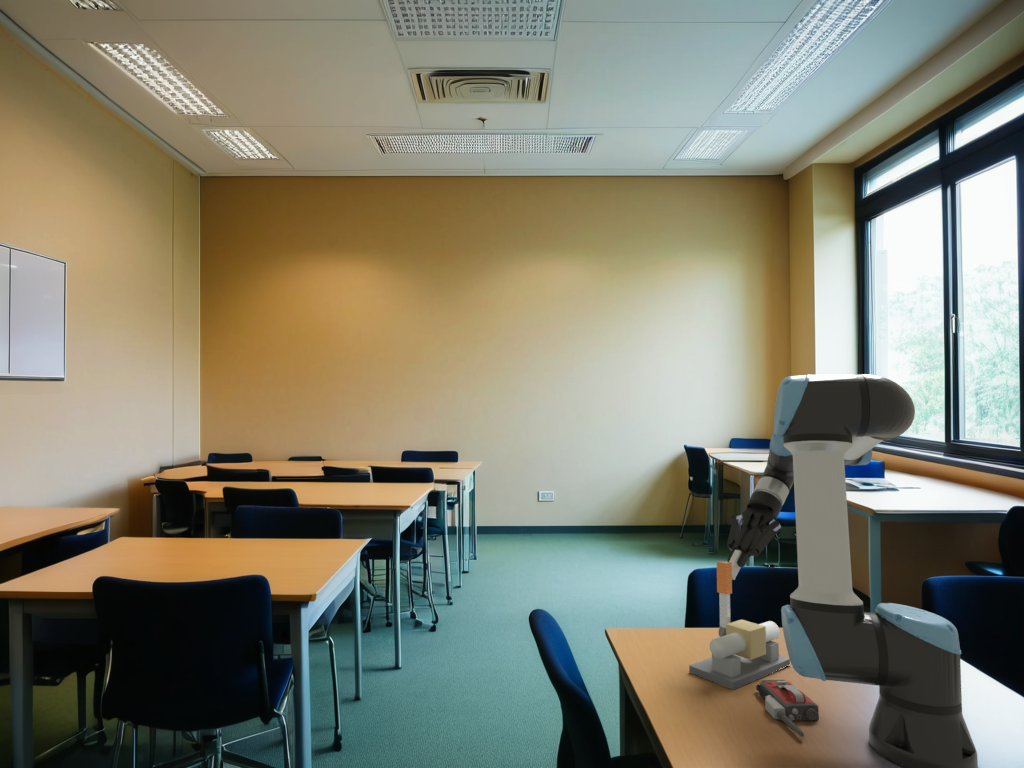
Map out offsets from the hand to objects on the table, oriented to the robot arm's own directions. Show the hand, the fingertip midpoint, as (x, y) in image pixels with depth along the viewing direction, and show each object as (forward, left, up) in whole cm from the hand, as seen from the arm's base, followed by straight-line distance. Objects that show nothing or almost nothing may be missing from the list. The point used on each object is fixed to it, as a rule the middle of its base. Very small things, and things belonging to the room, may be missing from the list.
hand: (729, 575), depth 143 cm
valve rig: (-4, -2, -20) cm, 20 cm away
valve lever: (-2, +1, -14) cm, 14 cm away
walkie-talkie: (-24, -8, -20) cm, 33 cm away
